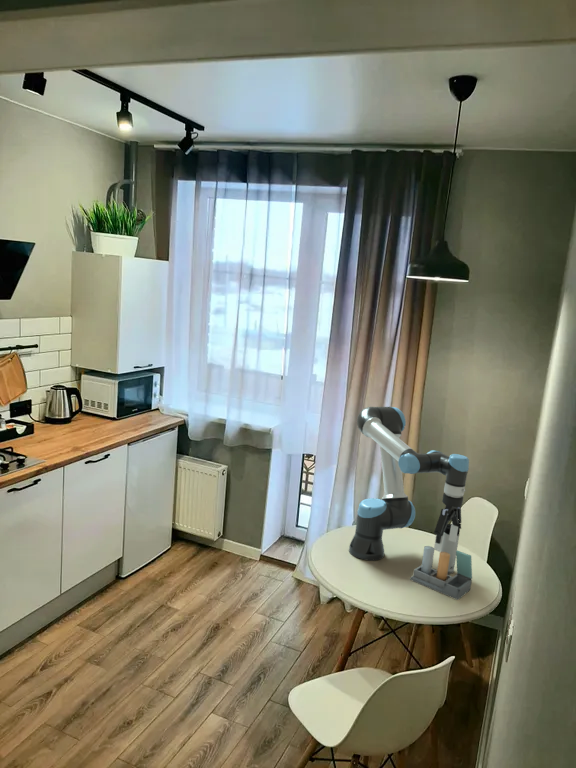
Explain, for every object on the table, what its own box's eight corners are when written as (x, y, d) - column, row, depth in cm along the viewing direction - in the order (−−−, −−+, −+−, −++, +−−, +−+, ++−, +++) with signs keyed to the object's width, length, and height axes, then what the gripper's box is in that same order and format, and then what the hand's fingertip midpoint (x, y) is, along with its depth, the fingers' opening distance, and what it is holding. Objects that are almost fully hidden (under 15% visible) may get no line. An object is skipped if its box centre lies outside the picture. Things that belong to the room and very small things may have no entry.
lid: (456, 551, 223) (457, 550, 223) (457, 574, 228) (458, 572, 229) (470, 557, 219) (471, 555, 220) (471, 580, 224) (472, 578, 225)
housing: (410, 579, 228) (411, 569, 228) (423, 570, 237) (424, 561, 237) (457, 599, 216) (459, 589, 215) (470, 589, 225) (471, 579, 224)
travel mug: (455, 575, 236) (462, 529, 233) (438, 572, 237) (445, 526, 235) (453, 568, 242) (460, 524, 239) (437, 565, 244) (444, 521, 241)
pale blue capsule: (418, 575, 230) (422, 547, 228) (423, 572, 233) (427, 545, 232) (427, 579, 228) (431, 551, 226) (432, 576, 231) (436, 548, 229)
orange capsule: (433, 582, 226) (438, 553, 224) (438, 579, 229) (442, 550, 227) (443, 586, 223) (447, 557, 222) (447, 582, 227) (451, 554, 225)
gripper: (449, 504, 209) (440, 558, 213) (475, 490, 229) (466, 540, 232) (430, 498, 214) (421, 551, 217) (457, 485, 233) (449, 534, 237)
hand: (445, 545), depth 225 cm, fingers open, 13 cm apart
